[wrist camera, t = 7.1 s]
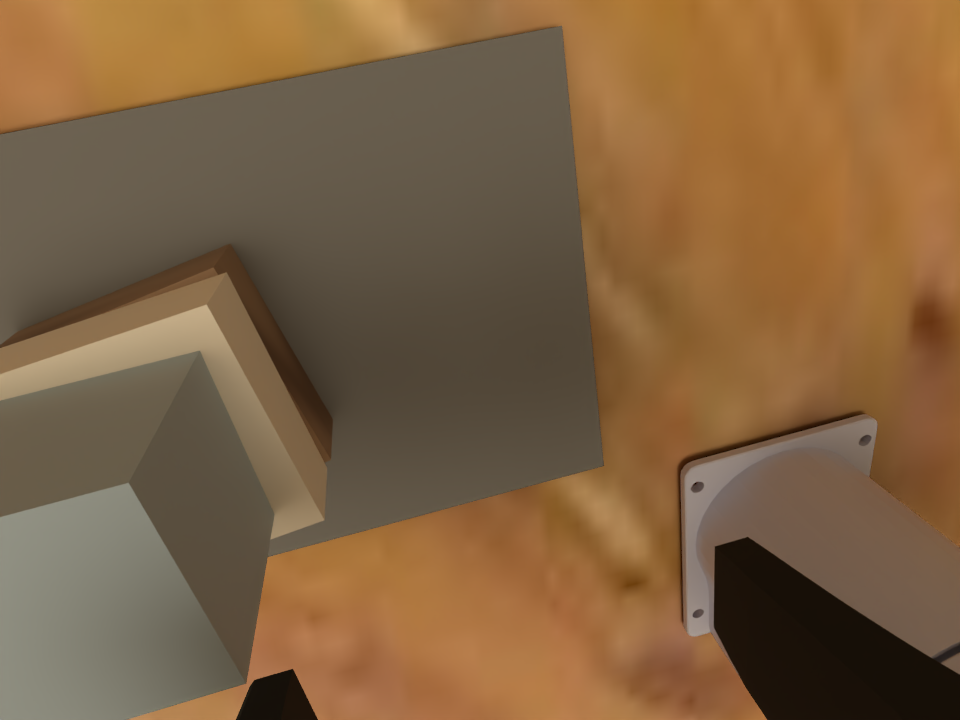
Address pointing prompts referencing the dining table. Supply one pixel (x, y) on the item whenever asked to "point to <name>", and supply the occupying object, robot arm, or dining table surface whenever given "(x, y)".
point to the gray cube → (126, 545)
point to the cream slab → (230, 360)
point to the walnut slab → (261, 317)
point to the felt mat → (354, 256)
